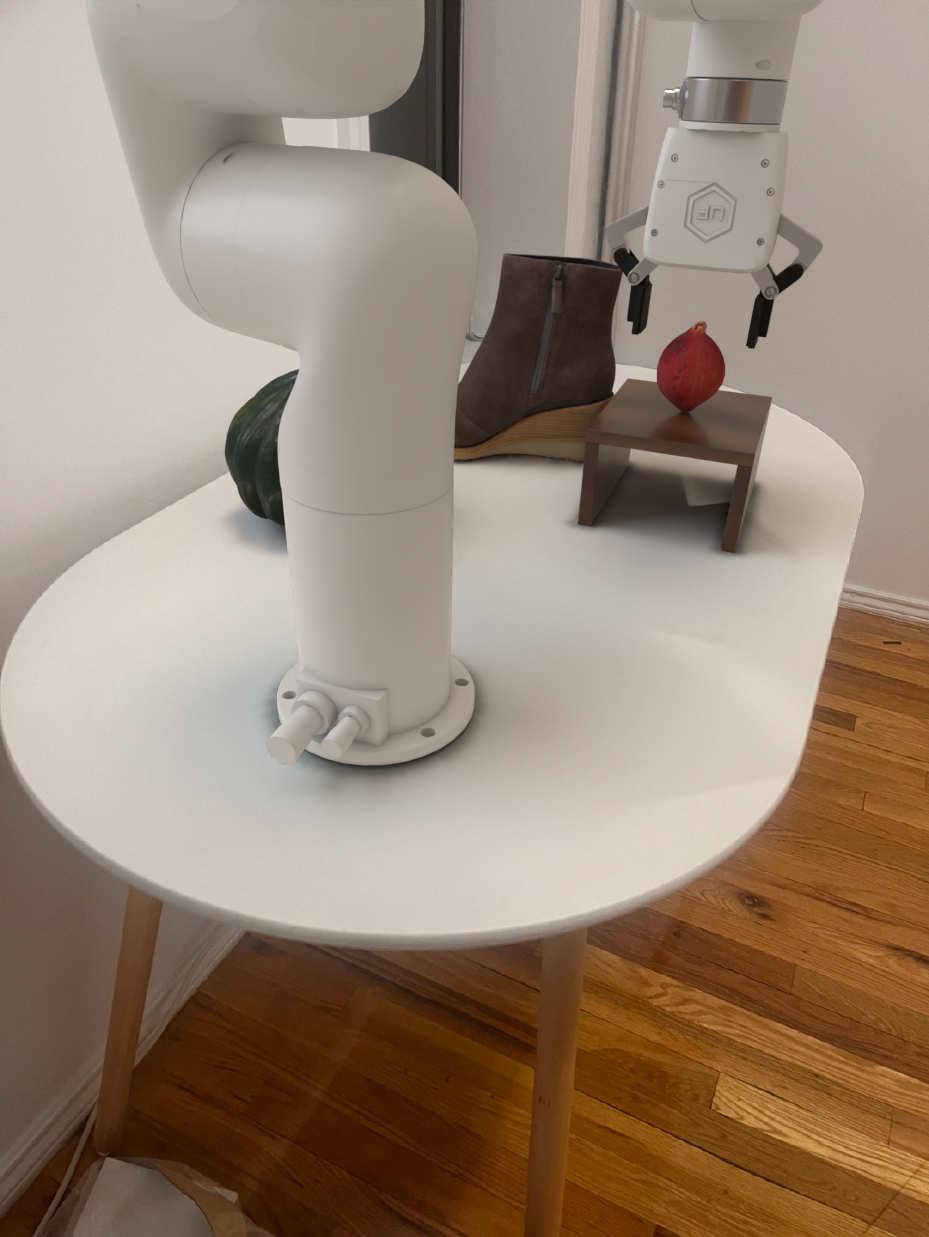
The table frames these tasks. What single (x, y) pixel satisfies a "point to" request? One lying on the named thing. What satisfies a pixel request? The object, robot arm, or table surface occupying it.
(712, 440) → the walnut shelf
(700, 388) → the onion
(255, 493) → the squash
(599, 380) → the boot
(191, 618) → the table surface
